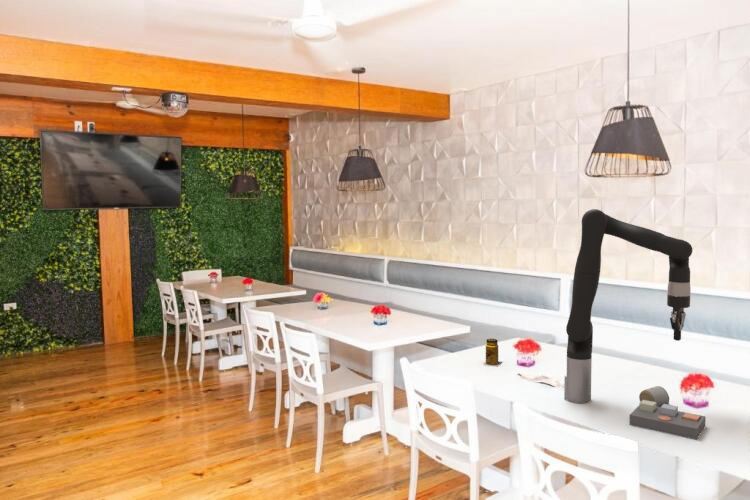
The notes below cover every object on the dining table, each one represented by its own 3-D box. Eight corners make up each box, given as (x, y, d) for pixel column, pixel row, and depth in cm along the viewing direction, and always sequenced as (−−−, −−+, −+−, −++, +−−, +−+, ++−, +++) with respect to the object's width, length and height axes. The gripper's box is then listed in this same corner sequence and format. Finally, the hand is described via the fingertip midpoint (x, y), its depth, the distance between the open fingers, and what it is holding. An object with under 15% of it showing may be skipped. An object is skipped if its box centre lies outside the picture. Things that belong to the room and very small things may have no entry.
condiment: (482, 364, 283) (482, 340, 282) (488, 360, 290) (488, 336, 289) (497, 366, 279) (497, 341, 278) (502, 362, 287) (502, 338, 286)
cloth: (577, 387, 248) (577, 382, 248) (553, 392, 242) (553, 387, 242) (534, 372, 271) (534, 367, 271) (511, 376, 265) (511, 371, 265)
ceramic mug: (637, 405, 223) (637, 386, 223) (652, 402, 226) (653, 383, 226) (660, 415, 214) (661, 395, 213) (676, 412, 217) (677, 391, 216)
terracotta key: (682, 425, 200) (682, 416, 200) (685, 421, 204) (685, 412, 204) (697, 428, 198) (697, 419, 197) (699, 424, 201) (700, 415, 201)
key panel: (629, 424, 205) (629, 413, 204) (640, 413, 215) (641, 402, 215) (696, 439, 191) (697, 427, 191) (705, 426, 202) (705, 415, 202)
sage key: (639, 411, 209) (639, 403, 209) (642, 408, 213) (643, 399, 212) (652, 414, 206) (653, 405, 206) (656, 410, 210) (656, 402, 210)
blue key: (660, 416, 205) (660, 407, 204) (663, 412, 208) (663, 403, 208) (674, 419, 202) (674, 409, 202) (677, 415, 205) (677, 406, 205)
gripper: (672, 290, 223) (670, 335, 224) (662, 295, 213) (661, 341, 214) (694, 292, 218) (692, 338, 220) (685, 297, 208) (684, 345, 210)
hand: (677, 340), depth 217 cm, fingers closed
